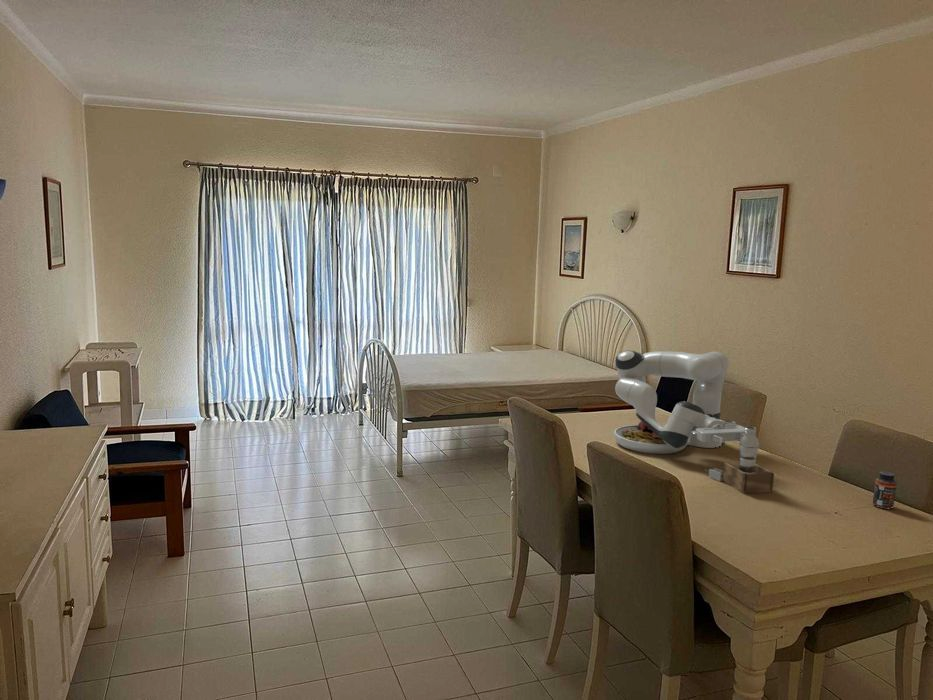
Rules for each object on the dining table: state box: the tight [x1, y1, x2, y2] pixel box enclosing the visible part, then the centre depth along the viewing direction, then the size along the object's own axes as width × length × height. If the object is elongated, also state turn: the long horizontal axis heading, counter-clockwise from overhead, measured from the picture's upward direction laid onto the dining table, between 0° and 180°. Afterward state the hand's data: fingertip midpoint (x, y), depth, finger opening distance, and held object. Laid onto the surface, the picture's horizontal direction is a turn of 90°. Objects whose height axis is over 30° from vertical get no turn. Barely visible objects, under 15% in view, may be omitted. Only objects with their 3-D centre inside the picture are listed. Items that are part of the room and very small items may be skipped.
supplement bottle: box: [872, 471, 897, 508], centre depth 228 cm, size 6×6×11 cm
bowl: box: [613, 420, 688, 455], centre depth 293 cm, size 30×30×8 cm
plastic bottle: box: [737, 426, 760, 473], centre depth 243 cm, size 6×7×20 cm
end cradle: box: [721, 462, 775, 495], centre depth 244 cm, size 13×11×7 cm
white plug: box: [704, 467, 723, 482], centre depth 252 cm, size 11×3×3 cm, turn 32°
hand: (735, 440), depth 253 cm, fingers open, 8 cm apart
